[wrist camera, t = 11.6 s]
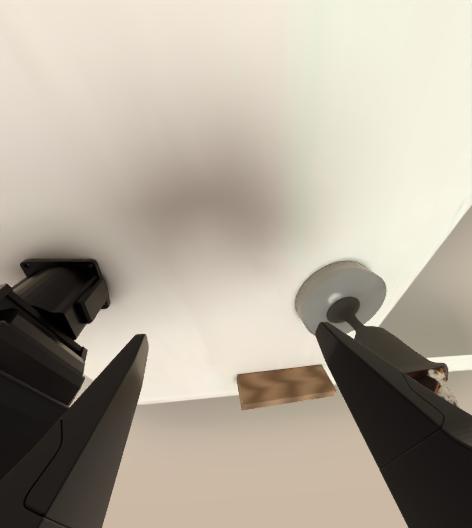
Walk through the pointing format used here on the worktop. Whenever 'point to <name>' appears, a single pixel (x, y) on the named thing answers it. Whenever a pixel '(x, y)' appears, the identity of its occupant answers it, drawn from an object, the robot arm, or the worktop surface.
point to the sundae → (393, 349)
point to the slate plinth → (339, 294)
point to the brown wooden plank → (283, 386)
